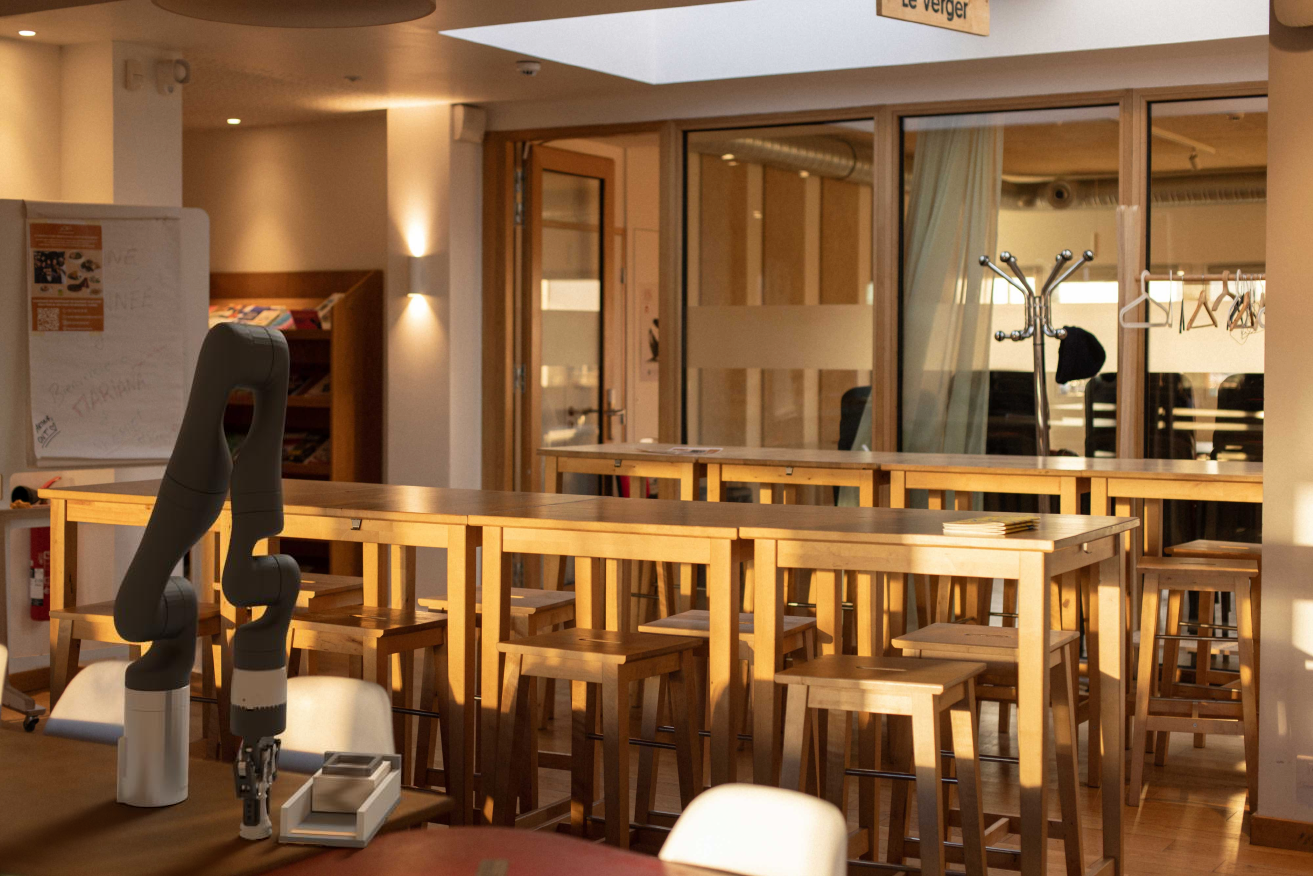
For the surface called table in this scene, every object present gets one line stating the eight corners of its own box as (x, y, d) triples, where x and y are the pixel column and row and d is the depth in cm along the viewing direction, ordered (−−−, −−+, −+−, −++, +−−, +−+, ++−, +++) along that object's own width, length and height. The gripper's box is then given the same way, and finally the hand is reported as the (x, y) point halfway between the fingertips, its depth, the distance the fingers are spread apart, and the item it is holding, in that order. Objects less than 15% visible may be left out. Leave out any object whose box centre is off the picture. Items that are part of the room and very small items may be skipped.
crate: (312, 810, 207) (313, 768, 207) (331, 790, 217) (332, 750, 217) (373, 813, 207) (374, 771, 207) (389, 793, 217) (390, 753, 217)
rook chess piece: (263, 842, 197) (264, 785, 197) (233, 839, 198) (234, 782, 198) (277, 832, 201) (279, 776, 201) (248, 829, 202) (250, 773, 202)
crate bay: (278, 843, 197) (279, 792, 197) (323, 796, 219) (324, 750, 219) (364, 847, 196) (366, 797, 196) (401, 800, 218) (402, 754, 218)
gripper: (249, 686, 206) (246, 804, 207) (214, 709, 192) (211, 835, 193) (300, 688, 206) (297, 807, 206) (269, 711, 191) (266, 838, 192)
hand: (256, 820), depth 199 cm, fingers closed on rook chess piece, 3 cm apart
